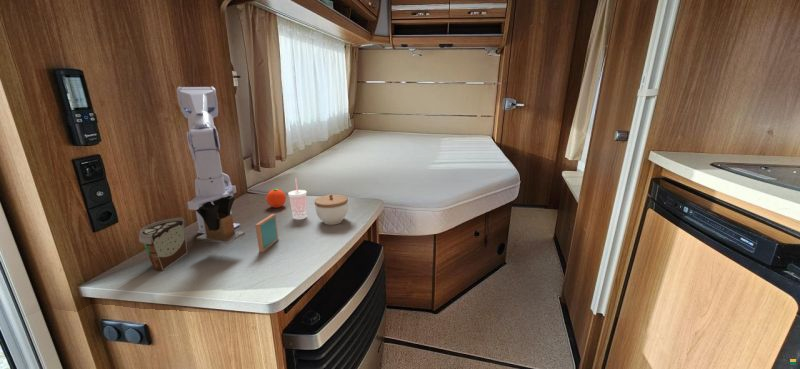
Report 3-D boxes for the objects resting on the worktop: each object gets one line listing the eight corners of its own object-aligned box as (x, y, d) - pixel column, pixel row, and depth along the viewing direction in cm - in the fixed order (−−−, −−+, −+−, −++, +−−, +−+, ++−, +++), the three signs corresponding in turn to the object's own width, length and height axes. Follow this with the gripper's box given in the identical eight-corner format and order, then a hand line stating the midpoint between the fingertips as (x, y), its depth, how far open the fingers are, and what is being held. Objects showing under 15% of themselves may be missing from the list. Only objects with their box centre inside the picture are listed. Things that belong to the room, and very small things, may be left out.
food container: (169, 250, 92) (161, 217, 89) (191, 250, 92) (184, 216, 89) (133, 274, 80) (123, 236, 77) (158, 274, 80) (149, 236, 77)
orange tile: (259, 251, 90) (255, 224, 88) (275, 239, 98) (272, 213, 95) (262, 252, 90) (258, 224, 88) (278, 239, 97) (275, 214, 95)
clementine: (271, 203, 130) (268, 186, 128) (289, 202, 130) (287, 185, 128) (265, 210, 122) (262, 192, 120) (284, 209, 123) (282, 191, 121)
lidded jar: (347, 226, 106) (345, 199, 103) (313, 228, 105) (310, 200, 103) (350, 214, 116) (348, 189, 113) (319, 216, 115) (317, 190, 113)
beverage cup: (311, 217, 114) (307, 178, 110) (293, 221, 111) (289, 181, 107) (305, 212, 119) (301, 175, 115) (288, 216, 116) (284, 177, 112)
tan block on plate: (196, 239, 86) (192, 218, 84) (215, 230, 92) (211, 210, 90) (228, 243, 83) (224, 221, 82) (245, 234, 89) (241, 213, 87)
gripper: (202, 184, 75) (212, 239, 79) (242, 170, 89) (250, 217, 93) (175, 183, 77) (187, 237, 80) (220, 169, 90) (228, 216, 94)
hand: (219, 226), depth 87 cm, fingers closed on tan block on plate, 4 cm apart
